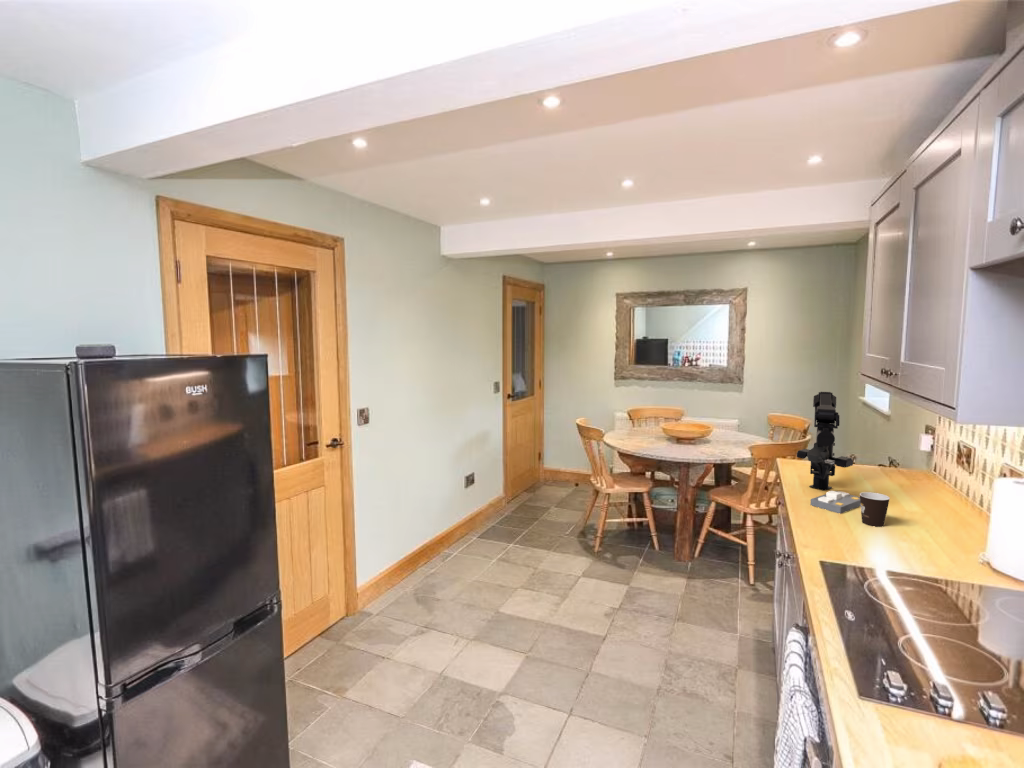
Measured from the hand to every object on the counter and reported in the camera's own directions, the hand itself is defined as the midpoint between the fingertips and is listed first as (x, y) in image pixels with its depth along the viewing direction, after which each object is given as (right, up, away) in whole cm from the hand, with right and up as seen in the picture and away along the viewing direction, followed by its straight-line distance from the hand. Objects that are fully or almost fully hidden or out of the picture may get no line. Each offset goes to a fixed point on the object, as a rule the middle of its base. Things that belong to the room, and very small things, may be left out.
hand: (822, 479), depth 201 cm
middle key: (+4, -8, -1) cm, 9 cm away
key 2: (+9, -9, +2) cm, 13 cm away
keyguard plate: (+5, -10, -2) cm, 11 cm away
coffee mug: (+6, -12, -20) cm, 24 cm away
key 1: (-1, -10, -4) cm, 11 cm away
